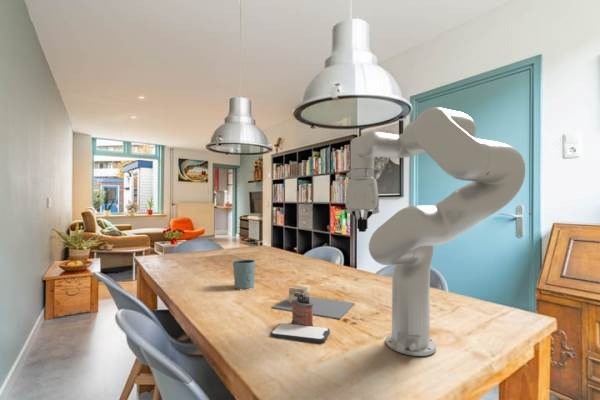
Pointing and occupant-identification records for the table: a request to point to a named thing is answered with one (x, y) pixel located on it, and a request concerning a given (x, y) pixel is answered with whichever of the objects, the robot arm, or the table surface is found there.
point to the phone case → (301, 333)
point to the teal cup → (244, 273)
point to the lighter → (302, 310)
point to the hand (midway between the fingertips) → (362, 231)
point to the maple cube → (299, 289)
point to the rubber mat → (321, 307)
